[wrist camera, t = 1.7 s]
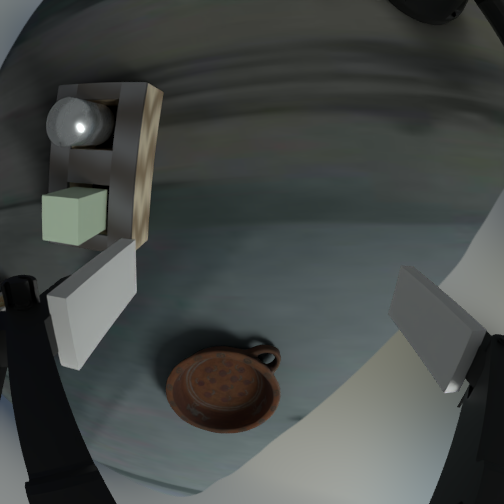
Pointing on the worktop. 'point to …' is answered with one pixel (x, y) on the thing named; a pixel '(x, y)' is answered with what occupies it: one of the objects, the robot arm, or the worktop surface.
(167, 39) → the worktop surface
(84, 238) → the sage peg
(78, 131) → the metal peg
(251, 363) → the dish
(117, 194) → the socket block
